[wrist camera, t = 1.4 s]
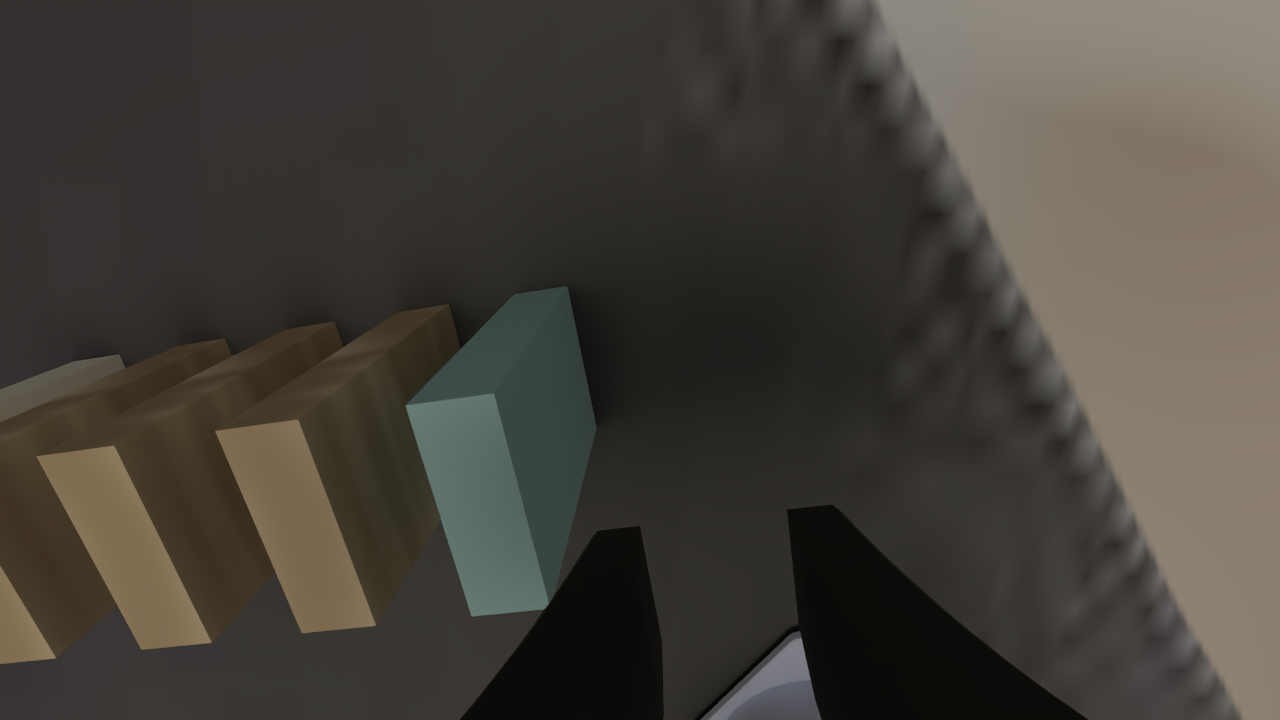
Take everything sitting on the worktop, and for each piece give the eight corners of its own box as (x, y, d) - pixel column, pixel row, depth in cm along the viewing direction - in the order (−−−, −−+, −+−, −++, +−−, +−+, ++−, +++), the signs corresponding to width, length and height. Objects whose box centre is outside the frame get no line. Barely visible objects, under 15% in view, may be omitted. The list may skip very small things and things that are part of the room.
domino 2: (225, 338, 19) (-59, 468, 12) (277, 468, 21) (56, 658, 13) (177, 345, 20) (-131, 479, 12) (233, 474, 21) (-10, 664, 14)
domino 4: (449, 304, 19) (298, 419, 11) (486, 441, 20) (376, 625, 13) (397, 311, 19) (214, 430, 11) (438, 447, 20) (301, 633, 13)
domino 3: (334, 321, 19) (114, 445, 11) (380, 455, 20) (211, 642, 13) (285, 329, 19) (36, 456, 12) (334, 461, 21) (141, 649, 13)
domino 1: (119, 354, 20) (-222, 491, 12) (178, 481, 21) (-92, 672, 14) (74, 361, 20) (-291, 500, 12) (136, 487, 21) (-155, 679, 14)
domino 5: (567, 286, 18) (493, 393, 11) (596, 427, 20) (550, 608, 12) (514, 294, 18) (405, 404, 11) (547, 433, 20) (471, 616, 12)
